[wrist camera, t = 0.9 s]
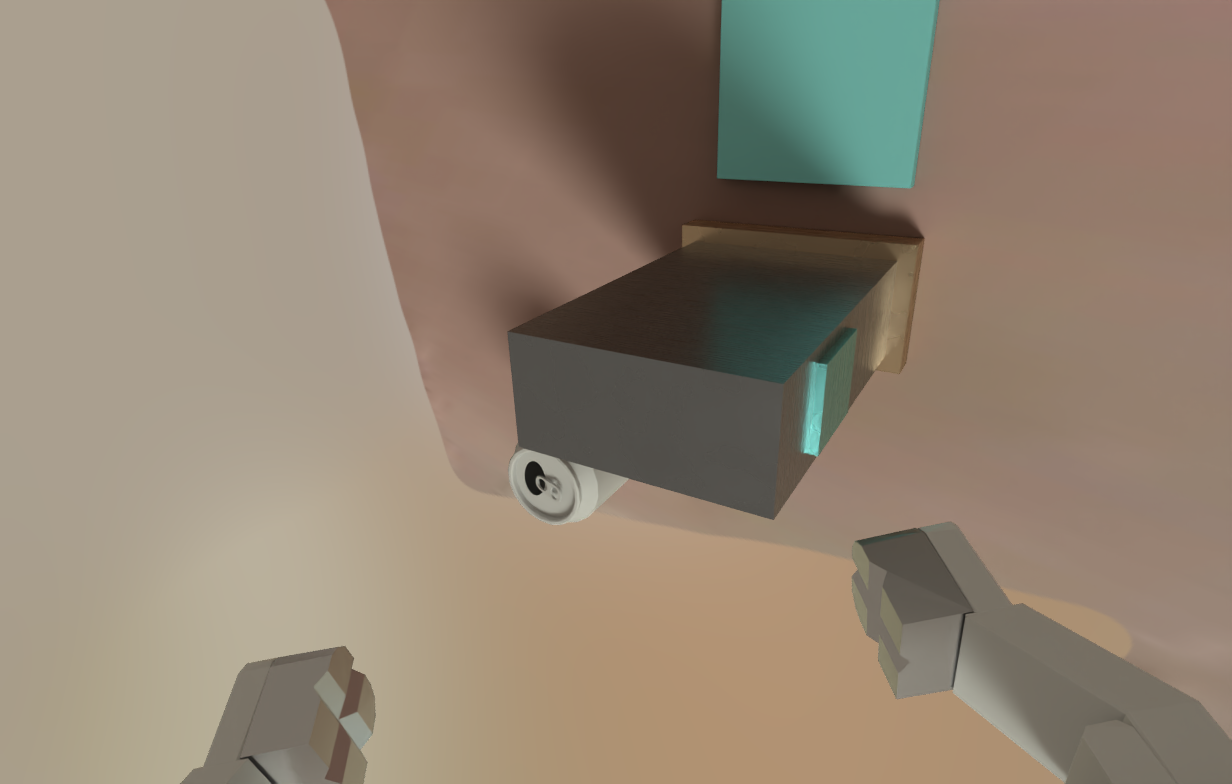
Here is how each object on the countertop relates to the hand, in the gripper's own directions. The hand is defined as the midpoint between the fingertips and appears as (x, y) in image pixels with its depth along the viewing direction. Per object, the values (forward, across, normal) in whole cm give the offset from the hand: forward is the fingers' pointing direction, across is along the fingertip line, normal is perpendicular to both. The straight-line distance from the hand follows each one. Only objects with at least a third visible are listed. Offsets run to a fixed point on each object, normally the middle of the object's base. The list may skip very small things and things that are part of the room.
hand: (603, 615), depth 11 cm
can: (+40, 0, +27) cm, 49 cm away
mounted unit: (+34, -13, +15) cm, 40 cm away
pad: (+37, -16, +2) cm, 40 cm away
